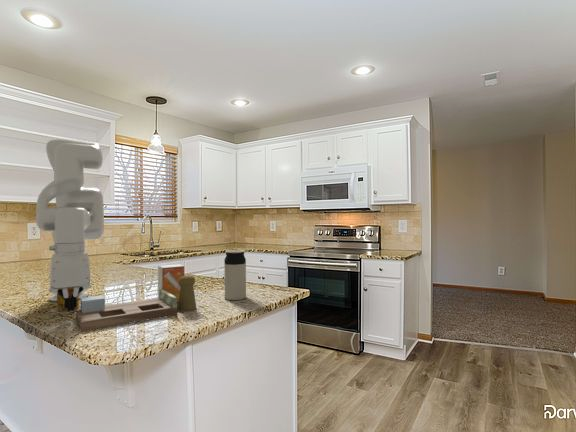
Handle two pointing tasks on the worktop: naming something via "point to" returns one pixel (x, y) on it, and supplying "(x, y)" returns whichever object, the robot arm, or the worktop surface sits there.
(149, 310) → the board
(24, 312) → the worktop surface
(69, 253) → the robot arm
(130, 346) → the worktop surface
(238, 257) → the travel mug
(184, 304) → the pepper mill
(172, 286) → the small box
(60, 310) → the condiment
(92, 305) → the block
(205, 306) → the worktop surface
